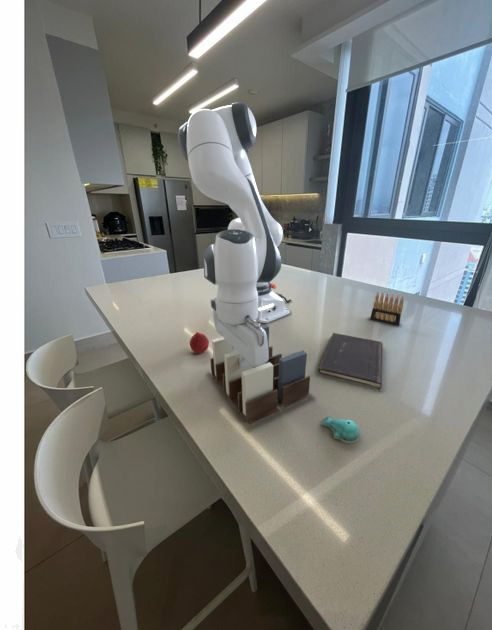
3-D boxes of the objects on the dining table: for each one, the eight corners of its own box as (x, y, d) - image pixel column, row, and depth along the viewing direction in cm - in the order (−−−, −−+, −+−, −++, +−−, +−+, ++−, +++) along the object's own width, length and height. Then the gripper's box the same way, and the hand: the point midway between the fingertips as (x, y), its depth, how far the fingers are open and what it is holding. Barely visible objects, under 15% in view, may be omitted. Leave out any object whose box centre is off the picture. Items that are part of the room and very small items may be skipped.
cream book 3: (268, 401, 61) (269, 362, 57) (272, 405, 60) (273, 365, 56) (242, 412, 58) (241, 372, 54) (246, 417, 57) (244, 375, 53)
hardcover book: (318, 375, 72) (318, 368, 71) (332, 338, 92) (333, 332, 91) (380, 390, 66) (382, 383, 66) (381, 348, 86) (383, 342, 85)
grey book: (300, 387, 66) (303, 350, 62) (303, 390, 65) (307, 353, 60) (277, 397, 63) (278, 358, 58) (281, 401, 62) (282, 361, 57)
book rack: (263, 356, 81) (263, 339, 78) (311, 398, 64) (313, 378, 61) (210, 374, 72) (208, 356, 70) (249, 428, 55) (248, 406, 53)
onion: (213, 350, 84) (211, 328, 81) (203, 360, 79) (201, 336, 76) (197, 347, 86) (194, 325, 83) (187, 356, 81) (184, 333, 78)
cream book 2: (250, 383, 68) (250, 346, 63) (253, 386, 66) (253, 349, 62) (226, 392, 64) (223, 354, 60) (228, 396, 63) (226, 357, 59)
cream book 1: (237, 367, 74) (236, 333, 70) (240, 370, 73) (239, 335, 68) (214, 375, 71) (211, 339, 66) (217, 378, 69) (214, 342, 65)
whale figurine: (350, 452, 50) (353, 438, 48) (317, 432, 54) (318, 418, 53) (362, 434, 54) (365, 420, 52) (330, 416, 58) (332, 403, 57)
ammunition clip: (369, 319, 106) (375, 291, 102) (370, 318, 108) (376, 290, 103) (398, 326, 101) (405, 297, 96) (399, 324, 102) (406, 295, 97)
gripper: (277, 323, 50) (275, 381, 56) (230, 293, 66) (232, 341, 72) (248, 330, 47) (249, 391, 52) (207, 298, 63) (211, 347, 68)
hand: (239, 362), depth 62 cm, fingers closed on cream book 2, 2 cm apart
